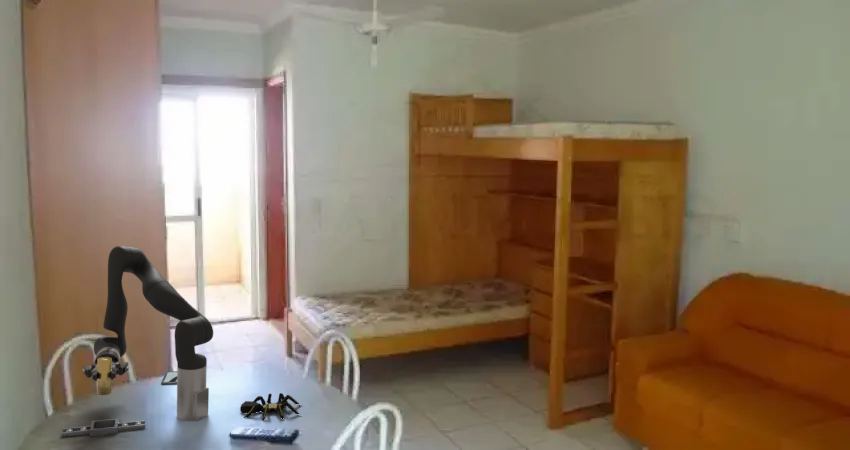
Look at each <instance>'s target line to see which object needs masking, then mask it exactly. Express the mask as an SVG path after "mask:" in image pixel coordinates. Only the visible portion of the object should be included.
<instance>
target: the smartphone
mask: <svg viewBox="0 0 850 450" xmlns="http://www.w3.org/2000/svg"><path fill="white" fill-rule="evenodd" d="M160 385H163V386H167V385H169V386H170V385H177V370H176V371H175V370H174V371H166V372H165V373H164V376H163V378H162V380H161V382H160Z"/></svg>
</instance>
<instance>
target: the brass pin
mask: <svg viewBox="0 0 850 450" xmlns="http://www.w3.org/2000/svg"><path fill="white" fill-rule="evenodd" d="M111 371H112V358H111V357H101V358H98V359H97V372H98V379H97V381H96V382H97V384H96V385H97V386H96V387H97V392H96V393H97V395H99V396H107V395H108V396H109V395H111V394H112V390H113V389H112V384H113V383H112V380H111Z"/></svg>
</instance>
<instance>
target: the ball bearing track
mask: <svg viewBox="0 0 850 450" xmlns="http://www.w3.org/2000/svg"><path fill="white" fill-rule="evenodd" d="M104 426H105V427H104ZM143 429H146V420H144V419H143V420H135V421H134V420H133V421H124V422H119V418H108V419H99V420H92V421H91V425H85V426H76V427H75V426H74V427H64V428H62V432H61V435H60V436H61V438H67V437H76V436H85V435H86V436H87V435H89V436H90V437H98V436H99V435H100V436H107V435H108V434H109V435H117V434H118V432H123V431H133V430H143ZM100 436H99V437H100Z"/></svg>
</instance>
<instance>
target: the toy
mask: <svg viewBox="0 0 850 450" xmlns="http://www.w3.org/2000/svg"><path fill="white" fill-rule="evenodd" d="M288 400H289V401H291V402H292V403H294V405H296V404H299V403H300V402H299V401H297V400H296V399H295V398H294V397H293V396H291V395H289V394H287V395H286V396H285V395H284V393H282V392H281V393H279V395H278V400H277V402H272V393H268V396H267V400H265V399H264V397H263V396H262V395H258V396H257V397H256V398H255V399H254V400H253V401H249V400H248V401H247V400H245V401H244V402H243V403H241V405H240V407H239V408H240V409H239V410H240V413H242V414H244V413H247V414H245V415H244V417H243V419H246V418H245V417H247V418H249V417H251V416H252V415H253V413H254V414H257V413H256V412H259V413H263V415H262V418H261V421H262V420H264V419H265V420H266V418H267V414H276V413H278V415H279V418H280V419H281V418H282V419H283V418H285V416H284V412H283V411H284V410H285V408H286V407H287V408H288V409H289V410H291V411H292V412H293V413H294V414H295V415H296V414H300V413H299V412H298V410H297V409H296V408H295V407H294V406H293V405H292V404H291V403H290V402H289V401H288ZM258 401H259V402H261V403H259V402H258ZM267 402H268V403H267ZM260 411H261V412H260ZM282 419H281V420H282ZM265 420H264V421H265Z"/></svg>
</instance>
